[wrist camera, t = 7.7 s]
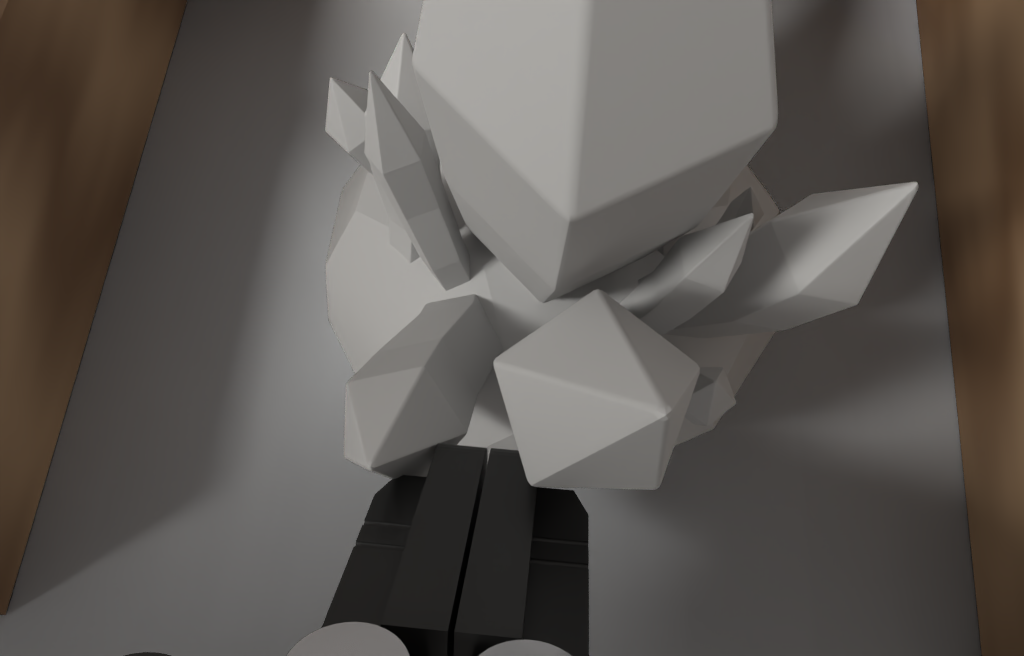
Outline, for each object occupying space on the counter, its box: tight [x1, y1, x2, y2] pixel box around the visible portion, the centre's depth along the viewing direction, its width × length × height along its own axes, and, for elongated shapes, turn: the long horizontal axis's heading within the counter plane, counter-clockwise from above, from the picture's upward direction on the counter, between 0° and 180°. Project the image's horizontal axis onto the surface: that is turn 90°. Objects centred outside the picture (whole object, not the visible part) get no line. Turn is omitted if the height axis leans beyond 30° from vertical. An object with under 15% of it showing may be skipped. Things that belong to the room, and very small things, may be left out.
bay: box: [0, 0, 1024, 656], centre depth 15 cm, size 17×20×5 cm
